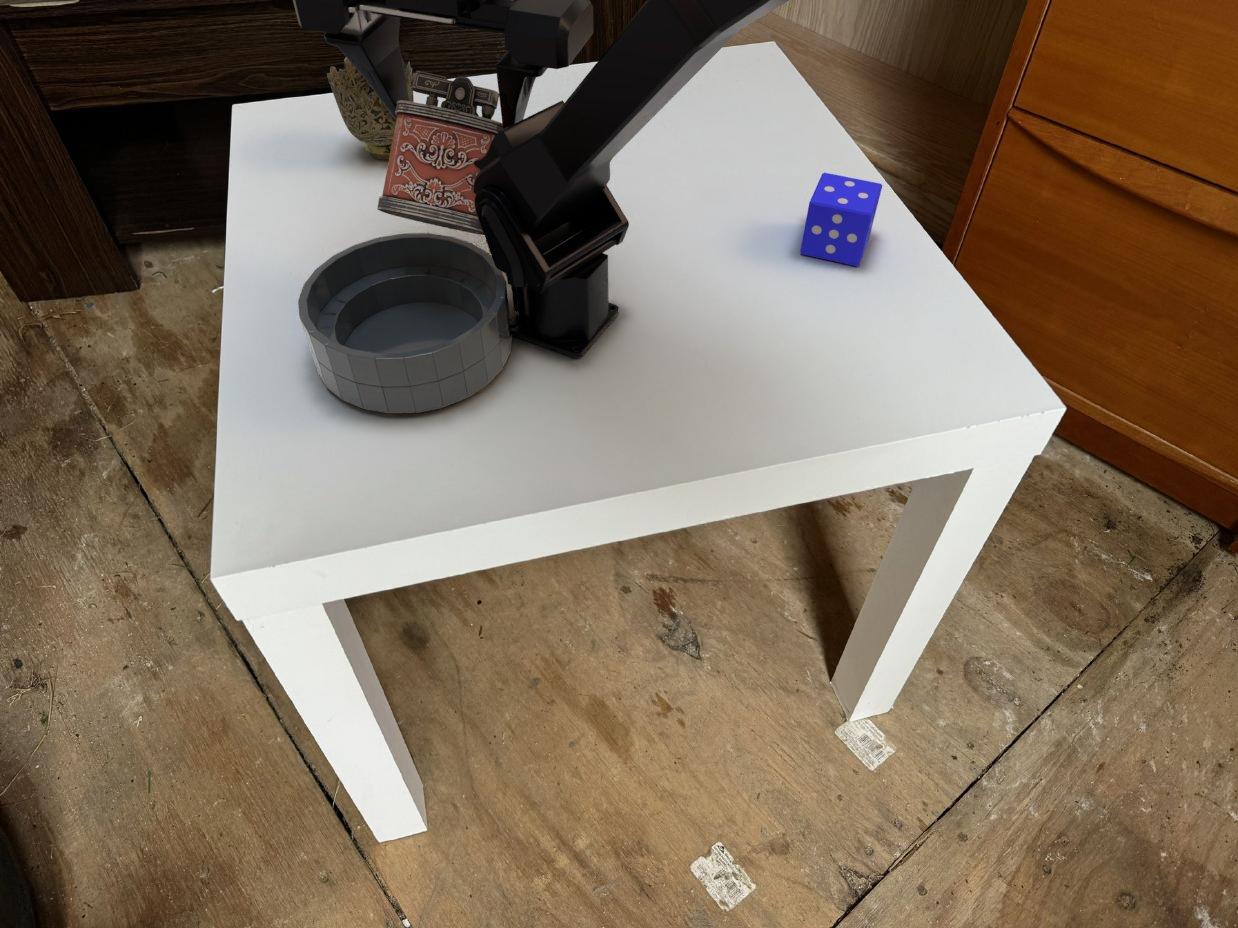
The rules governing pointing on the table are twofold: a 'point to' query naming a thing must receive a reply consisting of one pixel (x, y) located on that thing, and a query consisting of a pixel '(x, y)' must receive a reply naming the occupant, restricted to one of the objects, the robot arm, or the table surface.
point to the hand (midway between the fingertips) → (458, 133)
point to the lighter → (439, 152)
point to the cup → (365, 108)
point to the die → (840, 218)
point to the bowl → (407, 322)
